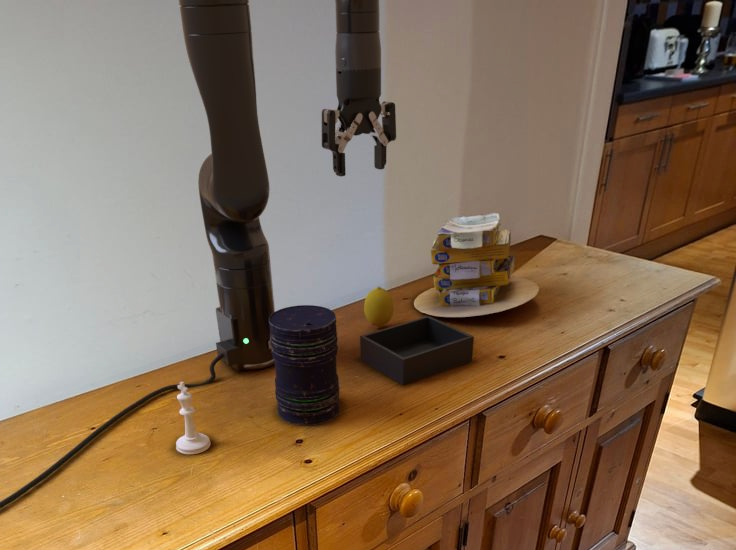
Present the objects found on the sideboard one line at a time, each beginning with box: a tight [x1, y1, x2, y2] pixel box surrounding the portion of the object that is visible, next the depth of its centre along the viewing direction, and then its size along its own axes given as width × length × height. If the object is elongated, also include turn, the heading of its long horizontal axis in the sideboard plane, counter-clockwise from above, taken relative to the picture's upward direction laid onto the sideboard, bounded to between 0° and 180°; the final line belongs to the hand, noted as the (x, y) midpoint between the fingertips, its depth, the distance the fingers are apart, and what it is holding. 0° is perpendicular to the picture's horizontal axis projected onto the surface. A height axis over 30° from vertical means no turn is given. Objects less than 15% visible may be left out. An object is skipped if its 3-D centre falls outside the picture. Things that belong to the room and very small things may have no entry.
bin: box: [359, 315, 475, 386], centre depth 122 cm, size 15×12×4 cm
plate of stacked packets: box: [413, 212, 540, 318], centre depth 139 cm, size 25×25×17 cm
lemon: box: [363, 286, 394, 329], centre depth 133 cm, size 6×6×8 cm
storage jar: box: [269, 304, 341, 426], centre depth 105 cm, size 10×10×15 cm
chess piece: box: [175, 381, 211, 455], centre depth 99 cm, size 5×5×10 cm
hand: (360, 172), depth 126 cm, fingers open, 8 cm apart
